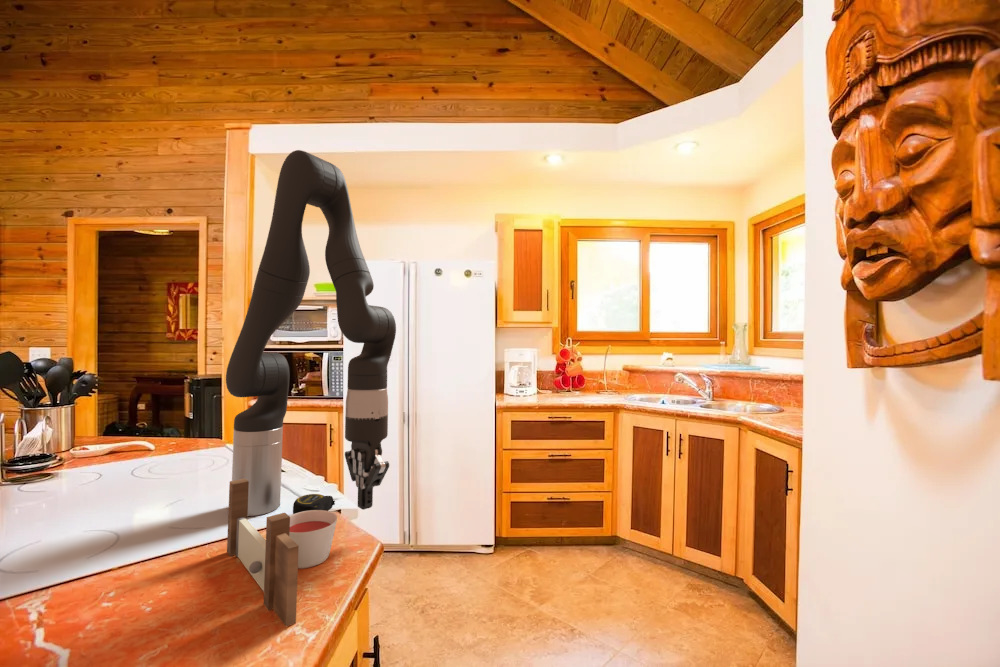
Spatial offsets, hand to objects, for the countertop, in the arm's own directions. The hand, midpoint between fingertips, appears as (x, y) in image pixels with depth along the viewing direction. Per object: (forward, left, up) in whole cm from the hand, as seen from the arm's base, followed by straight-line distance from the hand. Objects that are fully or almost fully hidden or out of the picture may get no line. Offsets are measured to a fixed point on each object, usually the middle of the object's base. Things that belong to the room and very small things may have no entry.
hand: (365, 507), depth 79 cm
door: (-1, -19, -6) cm, 20 cm away
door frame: (+2, -18, -6) cm, 19 cm away
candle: (0, -10, -6) cm, 12 cm away
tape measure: (-17, -2, -6) cm, 18 cm away
